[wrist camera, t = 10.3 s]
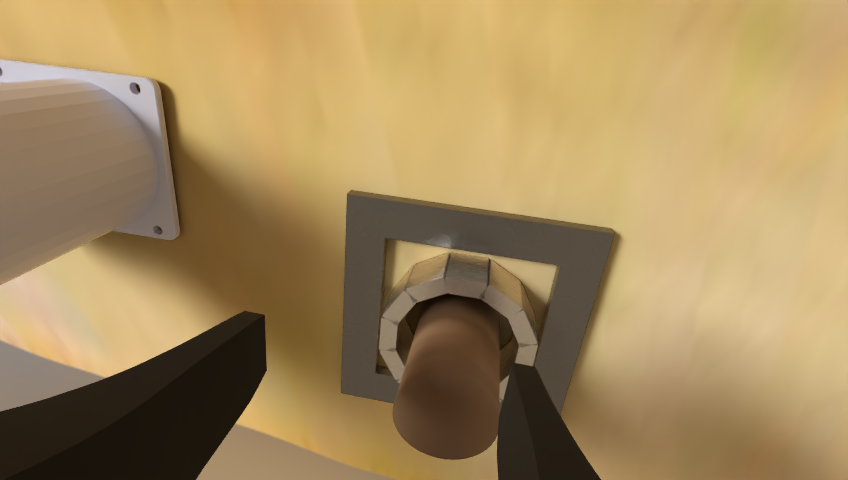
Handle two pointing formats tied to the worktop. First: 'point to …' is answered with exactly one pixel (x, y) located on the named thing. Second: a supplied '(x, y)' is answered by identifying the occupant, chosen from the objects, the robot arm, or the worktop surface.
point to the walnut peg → (451, 379)
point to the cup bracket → (464, 286)
